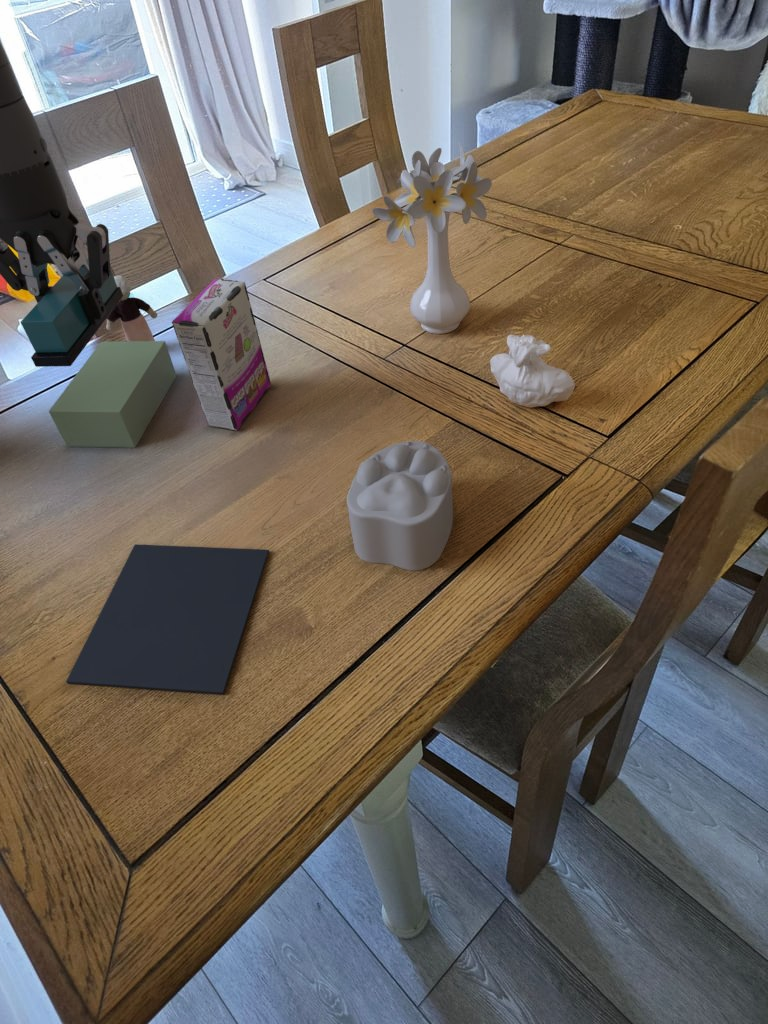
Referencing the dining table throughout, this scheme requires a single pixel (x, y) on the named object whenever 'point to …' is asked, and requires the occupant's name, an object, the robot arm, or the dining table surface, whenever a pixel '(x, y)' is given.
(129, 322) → the grandmother figurine
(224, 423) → the candy bar box
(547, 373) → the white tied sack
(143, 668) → the mat
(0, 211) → the robot arm
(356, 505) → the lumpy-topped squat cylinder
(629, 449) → the dining table surface
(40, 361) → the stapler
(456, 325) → the flower vase
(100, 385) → the stand
